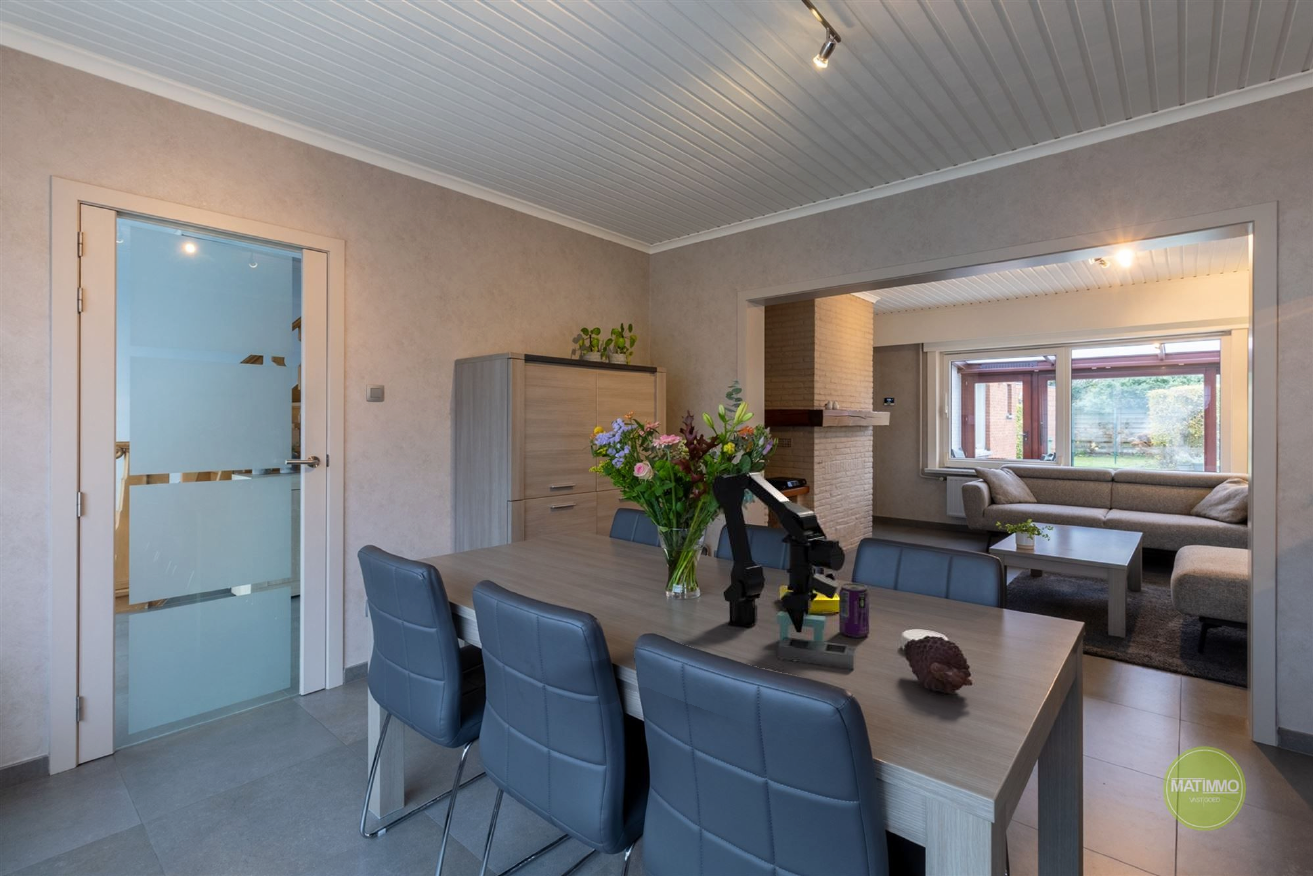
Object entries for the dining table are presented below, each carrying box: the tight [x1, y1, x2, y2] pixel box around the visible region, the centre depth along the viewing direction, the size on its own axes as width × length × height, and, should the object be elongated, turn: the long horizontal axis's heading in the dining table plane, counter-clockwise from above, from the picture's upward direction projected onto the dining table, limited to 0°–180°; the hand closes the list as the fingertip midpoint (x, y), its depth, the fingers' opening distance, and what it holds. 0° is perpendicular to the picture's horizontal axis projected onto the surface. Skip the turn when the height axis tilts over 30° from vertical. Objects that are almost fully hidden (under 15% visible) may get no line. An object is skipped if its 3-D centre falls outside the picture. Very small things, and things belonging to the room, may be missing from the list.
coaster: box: [900, 628, 950, 651], centre depth 139 cm, size 10×10×4 cm
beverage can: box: [838, 582, 870, 638], centre depth 150 cm, size 7×7×12 cm
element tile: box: [779, 585, 839, 614], centre depth 174 cm, size 15×15×5 cm
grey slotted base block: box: [777, 637, 857, 671], centre depth 134 cm, size 16×6×3 cm, turn 67°
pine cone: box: [903, 636, 973, 695], centre depth 119 cm, size 18×10×10 cm, turn 12°
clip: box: [776, 611, 827, 643], centre depth 144 cm, size 11×3×6 cm, turn 67°
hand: (801, 628), depth 144 cm, fingers open, 6 cm apart
